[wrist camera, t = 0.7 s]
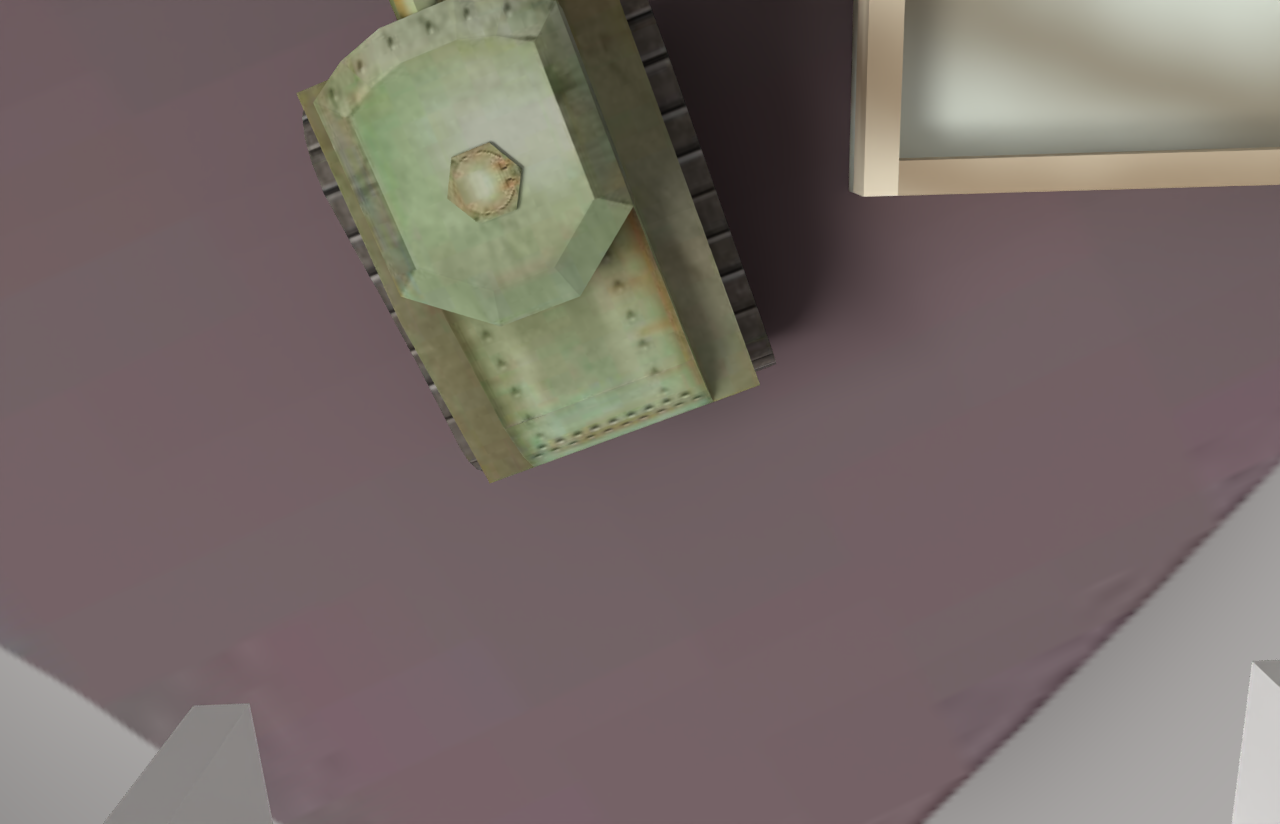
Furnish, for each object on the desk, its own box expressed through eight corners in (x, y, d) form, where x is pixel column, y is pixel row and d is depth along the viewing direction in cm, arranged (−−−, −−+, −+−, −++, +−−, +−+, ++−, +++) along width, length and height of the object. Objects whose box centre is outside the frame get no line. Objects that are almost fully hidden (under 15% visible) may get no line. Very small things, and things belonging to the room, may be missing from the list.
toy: (559, -232, 30) (513, -395, 20) (769, 349, 35) (811, 440, 25) (253, -95, 31) (73, -188, 22) (495, 450, 36) (435, 573, 26)
